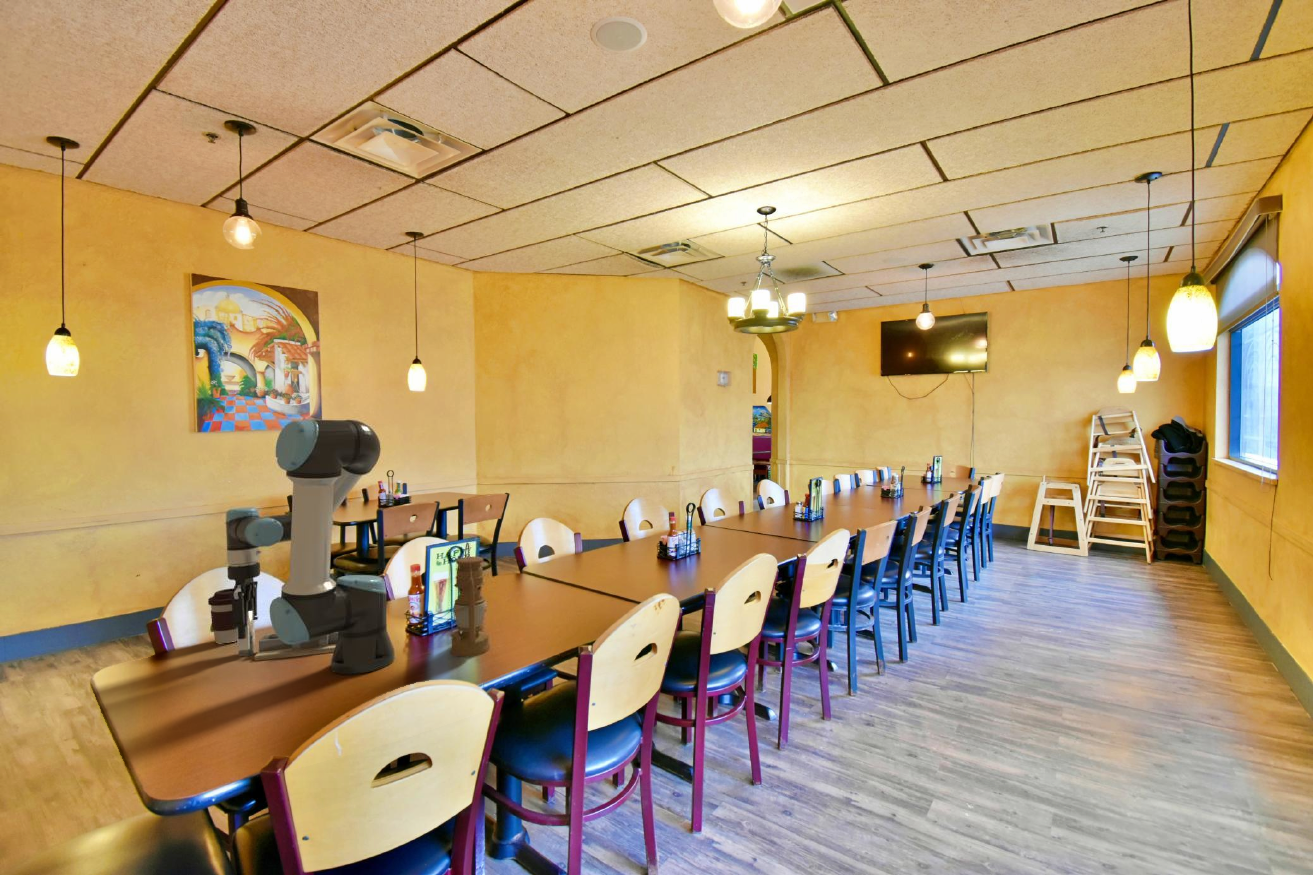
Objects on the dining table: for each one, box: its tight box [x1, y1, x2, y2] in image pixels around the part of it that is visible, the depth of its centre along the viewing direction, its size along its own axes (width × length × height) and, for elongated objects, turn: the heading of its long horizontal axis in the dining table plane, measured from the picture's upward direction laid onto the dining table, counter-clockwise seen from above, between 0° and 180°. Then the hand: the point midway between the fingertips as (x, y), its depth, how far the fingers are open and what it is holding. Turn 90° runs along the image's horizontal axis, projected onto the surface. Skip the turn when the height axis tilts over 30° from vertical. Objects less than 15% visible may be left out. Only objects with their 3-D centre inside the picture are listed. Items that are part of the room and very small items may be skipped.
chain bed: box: [254, 632, 338, 662], centre depth 173 cm, size 12×26×5 cm, turn 107°
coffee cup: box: [207, 587, 237, 643], centre depth 181 cm, size 10×10×15 cm
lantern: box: [450, 542, 491, 658], centre depth 169 cm, size 15×10×30 cm
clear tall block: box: [238, 610, 255, 657], centre depth 169 cm, size 4×4×12 cm
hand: (246, 646), depth 169 cm, fingers closed on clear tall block, 3 cm apart
